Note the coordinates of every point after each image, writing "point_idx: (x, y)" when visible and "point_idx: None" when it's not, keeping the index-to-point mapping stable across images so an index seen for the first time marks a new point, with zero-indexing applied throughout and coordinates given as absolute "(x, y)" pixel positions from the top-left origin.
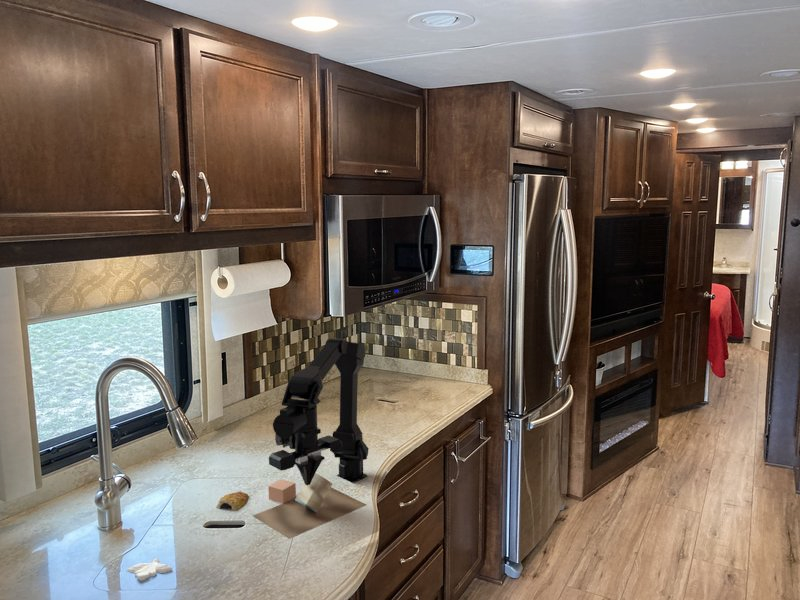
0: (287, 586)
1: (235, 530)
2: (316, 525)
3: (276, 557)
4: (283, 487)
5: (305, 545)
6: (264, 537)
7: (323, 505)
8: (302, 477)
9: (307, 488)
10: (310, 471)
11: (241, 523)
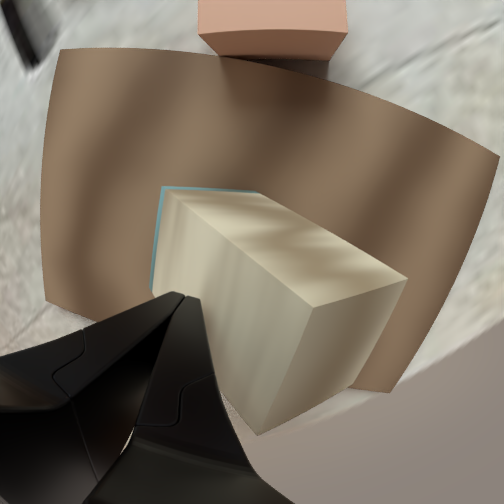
0: None
1: (9, 79)
2: None
3: (11, 301)
4: (236, 7)
5: None
6: (26, 196)
7: None
8: (126, 314)
9: (196, 285)
10: (113, 462)
11: (43, 47)
